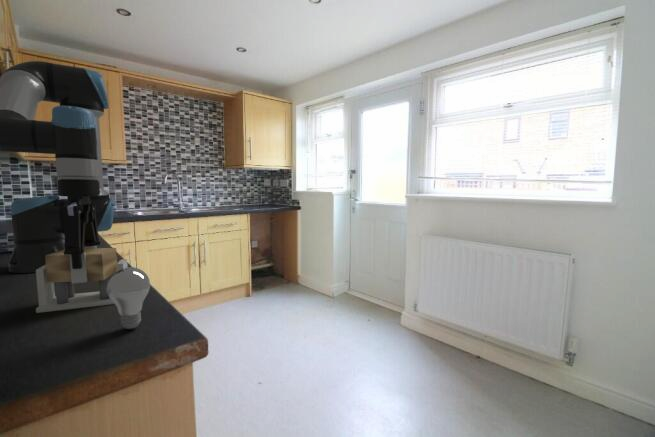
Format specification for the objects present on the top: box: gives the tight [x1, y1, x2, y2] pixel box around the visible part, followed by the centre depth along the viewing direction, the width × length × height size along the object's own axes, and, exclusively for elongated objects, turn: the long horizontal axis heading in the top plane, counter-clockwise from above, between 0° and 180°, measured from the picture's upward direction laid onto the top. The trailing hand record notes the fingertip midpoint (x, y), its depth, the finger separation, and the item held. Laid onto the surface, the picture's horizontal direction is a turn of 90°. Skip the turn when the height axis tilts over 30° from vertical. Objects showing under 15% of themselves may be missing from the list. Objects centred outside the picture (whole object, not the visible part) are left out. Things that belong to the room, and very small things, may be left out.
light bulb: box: [107, 266, 151, 331], centre depth 60 cm, size 7×7×12 cm
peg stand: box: [35, 258, 128, 314], centre depth 74 cm, size 8×16×9 cm, turn 113°
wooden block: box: [45, 247, 118, 283], centre depth 73 cm, size 11×7×6 cm, turn 101°
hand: (85, 277), depth 74 cm, fingers closed on wooden block, 8 cm apart
